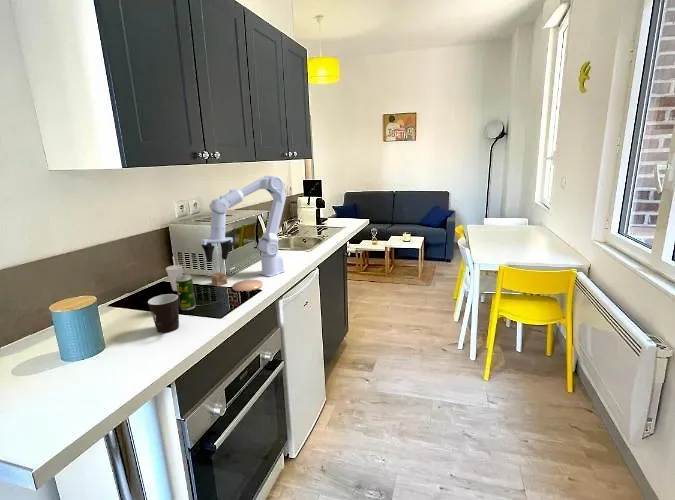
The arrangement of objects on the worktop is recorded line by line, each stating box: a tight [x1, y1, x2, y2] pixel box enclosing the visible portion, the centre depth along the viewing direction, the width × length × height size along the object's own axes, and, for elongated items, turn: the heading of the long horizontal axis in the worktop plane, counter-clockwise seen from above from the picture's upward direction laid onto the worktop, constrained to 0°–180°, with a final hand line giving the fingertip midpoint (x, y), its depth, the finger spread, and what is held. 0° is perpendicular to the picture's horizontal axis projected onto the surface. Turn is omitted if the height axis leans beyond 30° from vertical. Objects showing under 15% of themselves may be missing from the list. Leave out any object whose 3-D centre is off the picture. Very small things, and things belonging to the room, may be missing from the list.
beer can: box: [176, 273, 197, 311], centre depth 130 cm, size 5×5×12 cm
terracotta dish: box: [231, 279, 263, 293], centre depth 150 cm, size 12×12×1 cm
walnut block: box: [210, 271, 228, 288], centre depth 154 cm, size 4×4×4 cm
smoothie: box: [165, 256, 184, 292], centre depth 149 cm, size 6×6×14 cm
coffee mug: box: [147, 293, 180, 334], centre depth 113 cm, size 12×9×10 cm
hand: (216, 260), depth 152 cm, fingers open, 7 cm apart
